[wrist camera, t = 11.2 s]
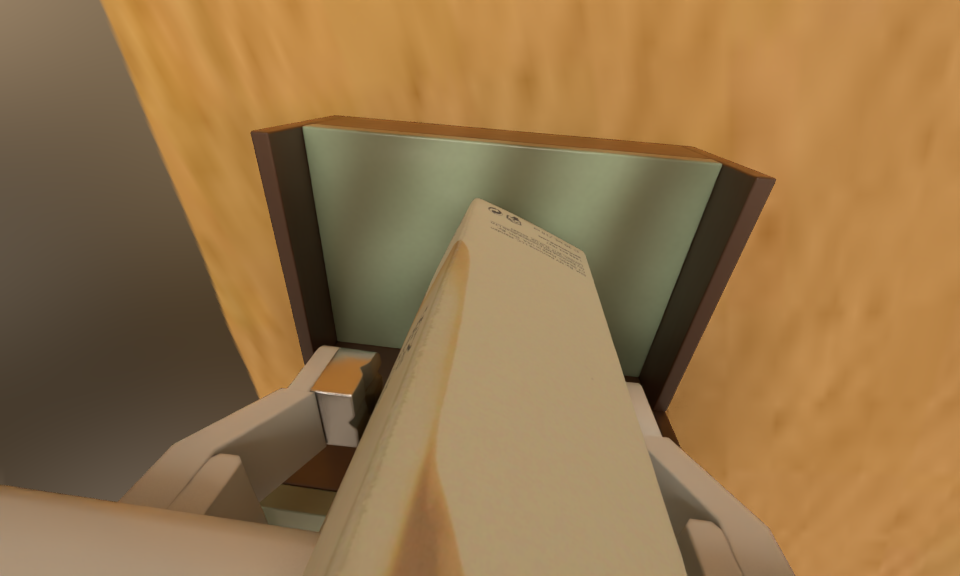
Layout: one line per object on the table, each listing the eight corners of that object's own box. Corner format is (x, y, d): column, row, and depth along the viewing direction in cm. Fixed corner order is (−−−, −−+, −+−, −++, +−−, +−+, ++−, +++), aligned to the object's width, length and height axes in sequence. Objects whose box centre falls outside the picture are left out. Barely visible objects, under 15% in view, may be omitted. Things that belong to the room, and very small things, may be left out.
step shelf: (693, 146, 16) (1179, 331, 4) (608, 392, 23) (695, 702, 12) (334, 115, 17) (-106, 196, 5) (364, 362, 24) (217, 624, 12)
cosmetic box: (474, 191, 12) (5, 1259, 1) (588, 250, 12) (1010, 1309, 2) (406, 330, 15) (119, 956, 4) (501, 372, 15) (456, 1009, 5)
